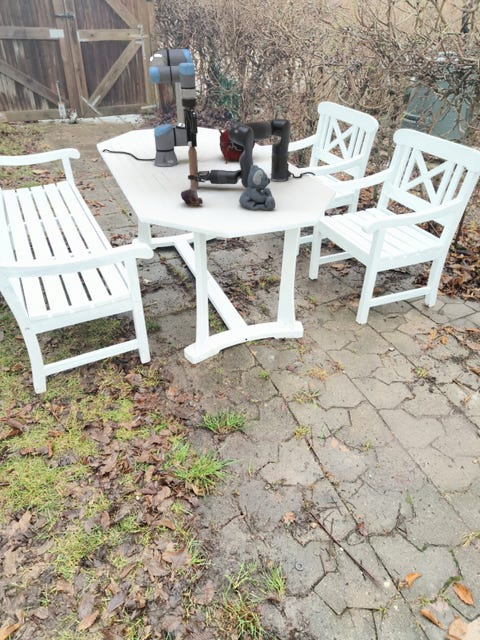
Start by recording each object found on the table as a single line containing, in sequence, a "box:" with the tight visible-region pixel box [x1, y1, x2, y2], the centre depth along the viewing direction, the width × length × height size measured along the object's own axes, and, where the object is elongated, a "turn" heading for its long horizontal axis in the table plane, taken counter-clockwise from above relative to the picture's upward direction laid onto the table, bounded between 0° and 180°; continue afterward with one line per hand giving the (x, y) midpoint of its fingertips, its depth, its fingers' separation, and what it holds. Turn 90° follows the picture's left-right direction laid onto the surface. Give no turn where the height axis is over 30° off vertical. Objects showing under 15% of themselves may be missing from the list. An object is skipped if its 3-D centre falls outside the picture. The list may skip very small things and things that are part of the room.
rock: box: [180, 188, 204, 207], centre depth 229 cm, size 12×9×10 cm
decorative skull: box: [218, 128, 256, 164], centre depth 298 cm, size 21×24×25 cm
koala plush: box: [238, 164, 276, 211], centre depth 224 cm, size 17×18×20 cm
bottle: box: [187, 146, 200, 190], centre depth 247 cm, size 5×5×24 cm
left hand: (192, 145), depth 241 cm, fingers open, 6 cm apart
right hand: (189, 175), depth 250 cm, fingers closed on bottle, 4 cm apart
